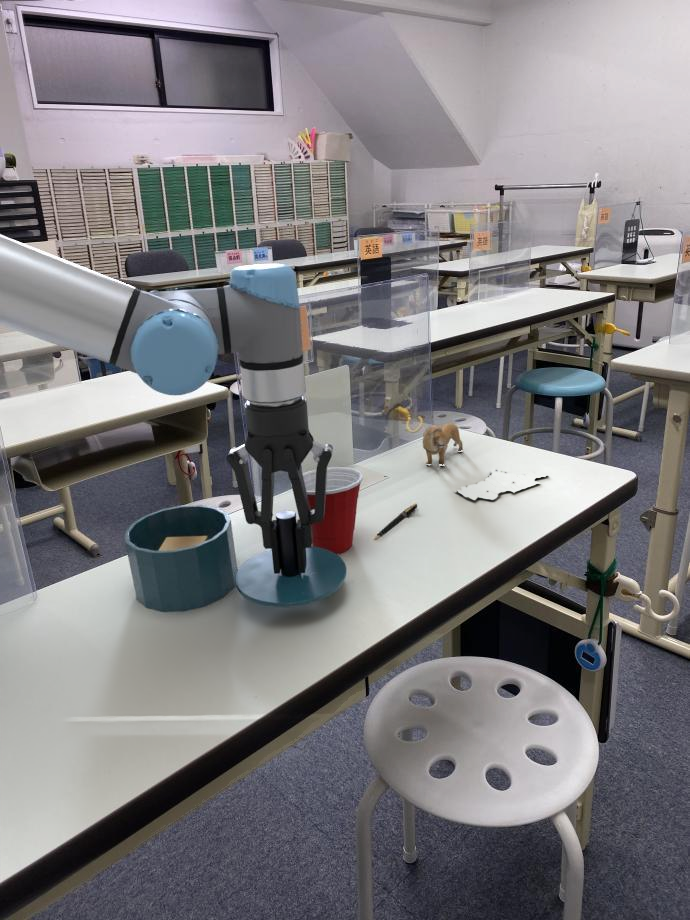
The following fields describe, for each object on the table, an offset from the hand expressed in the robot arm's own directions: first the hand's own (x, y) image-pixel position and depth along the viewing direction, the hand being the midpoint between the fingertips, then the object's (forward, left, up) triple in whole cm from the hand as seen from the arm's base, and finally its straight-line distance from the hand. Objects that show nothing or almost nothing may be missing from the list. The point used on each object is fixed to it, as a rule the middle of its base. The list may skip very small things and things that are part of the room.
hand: (290, 567), depth 91 cm
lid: (0, 0, -1) cm, 1 cm away
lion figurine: (+24, +48, -5) cm, 54 cm away
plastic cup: (+4, +14, -5) cm, 16 cm away
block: (-16, +4, -4) cm, 17 cm away
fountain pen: (+14, +21, -5) cm, 26 cm away
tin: (-16, +4, -5) cm, 17 cm away
